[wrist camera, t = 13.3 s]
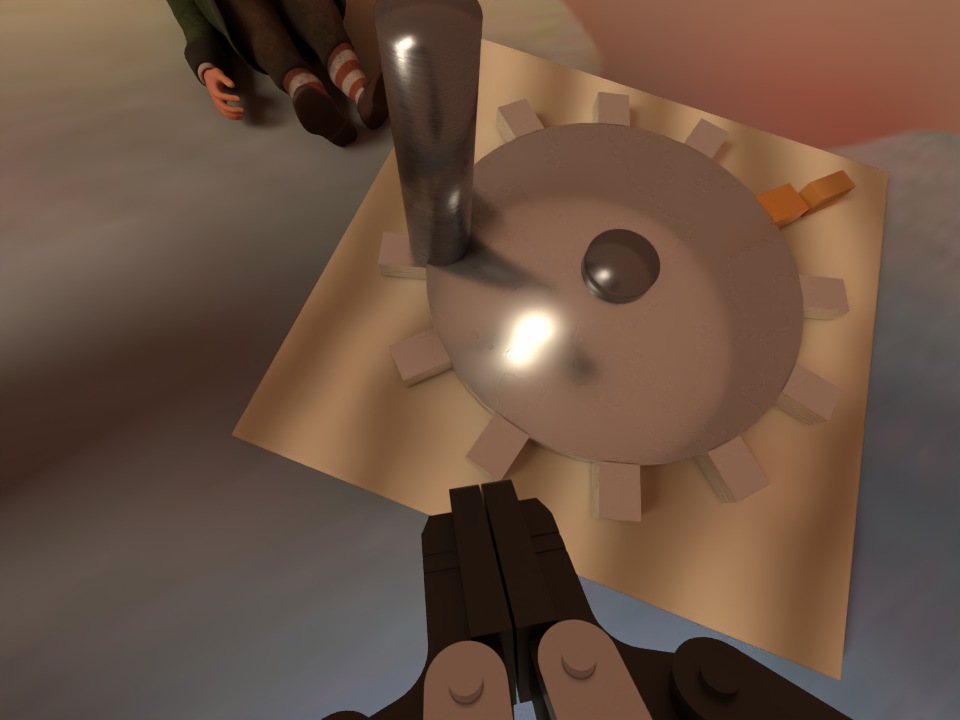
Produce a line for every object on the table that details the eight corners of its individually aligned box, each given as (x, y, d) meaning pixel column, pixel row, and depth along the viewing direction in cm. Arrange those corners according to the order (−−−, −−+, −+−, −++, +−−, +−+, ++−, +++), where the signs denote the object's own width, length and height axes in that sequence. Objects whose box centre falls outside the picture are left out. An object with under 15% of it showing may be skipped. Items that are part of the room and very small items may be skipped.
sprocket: (304, 204, 25) (176, -68, 13) (651, 59, 30) (777, -232, 18) (541, 634, 19) (680, 818, 7) (926, 365, 24) (1372, 222, 12)
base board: (245, 440, 22) (213, 429, 19) (458, 53, 31) (458, 5, 28) (813, 669, 21) (873, 694, 18) (867, 188, 29) (913, 152, 27)
